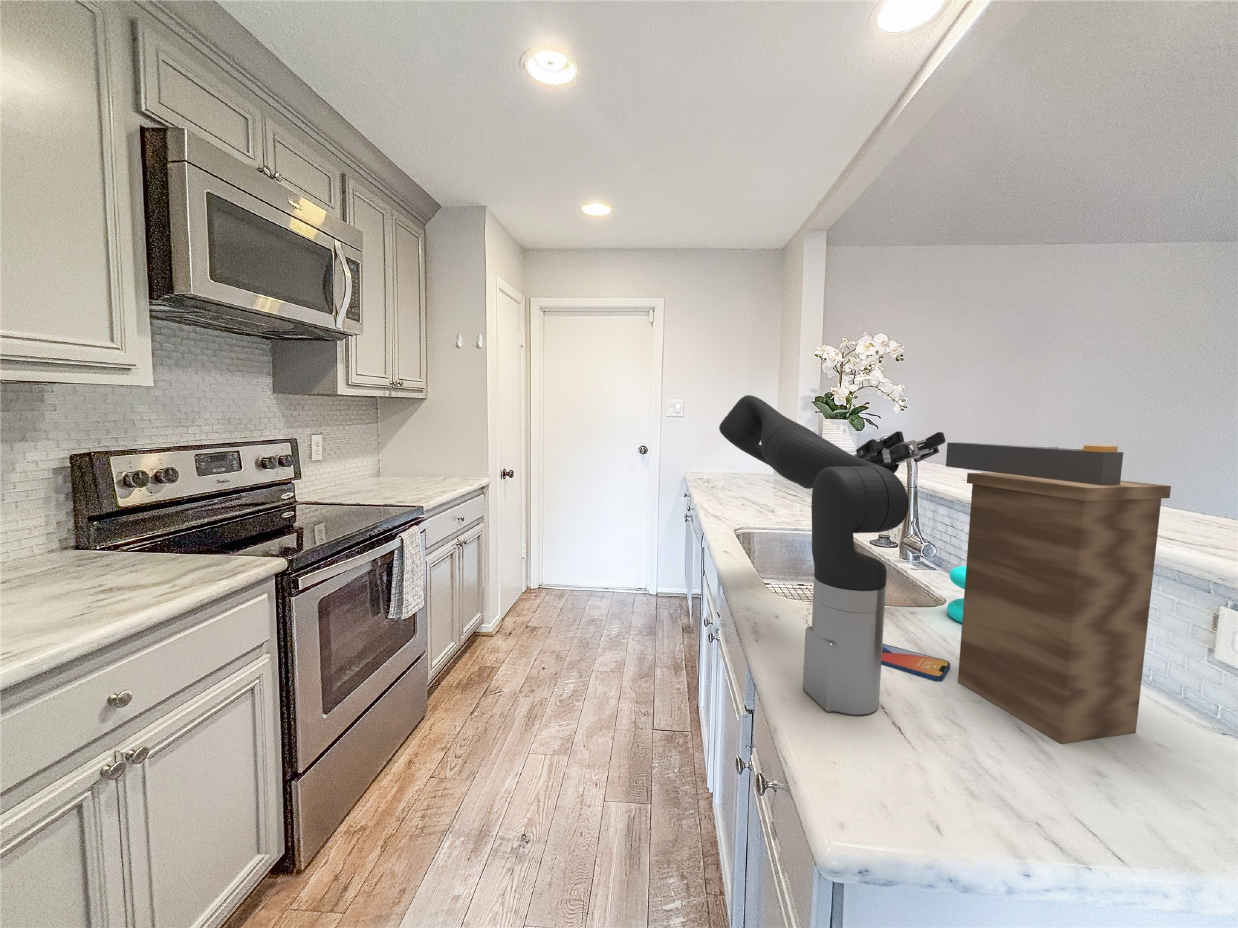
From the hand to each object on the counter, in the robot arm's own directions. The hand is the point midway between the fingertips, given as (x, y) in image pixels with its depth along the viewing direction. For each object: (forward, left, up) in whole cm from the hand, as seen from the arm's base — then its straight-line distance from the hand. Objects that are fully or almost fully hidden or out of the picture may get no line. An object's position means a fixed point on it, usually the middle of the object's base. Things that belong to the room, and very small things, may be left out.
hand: (922, 436), depth 95 cm
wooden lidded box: (-2, -26, -37) cm, 45 cm away
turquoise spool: (+16, +1, -37) cm, 40 cm away
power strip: (-2, -21, -5) cm, 22 cm away
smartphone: (-12, -10, -37) cm, 41 cm away
